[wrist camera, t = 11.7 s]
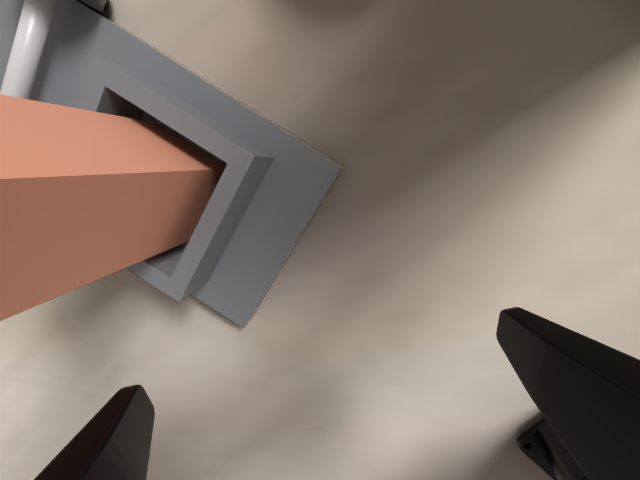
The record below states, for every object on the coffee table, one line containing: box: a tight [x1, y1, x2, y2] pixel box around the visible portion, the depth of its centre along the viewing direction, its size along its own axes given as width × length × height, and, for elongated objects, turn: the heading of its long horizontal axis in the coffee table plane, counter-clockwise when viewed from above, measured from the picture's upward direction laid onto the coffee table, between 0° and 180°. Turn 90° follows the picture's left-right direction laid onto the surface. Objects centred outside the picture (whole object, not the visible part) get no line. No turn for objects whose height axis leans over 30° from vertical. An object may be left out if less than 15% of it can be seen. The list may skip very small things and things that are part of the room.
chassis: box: [0, 0, 343, 328], centre depth 19 cm, size 22×15×5 cm
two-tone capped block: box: [0, 94, 226, 321], centre depth 13 cm, size 5×5×14 cm
